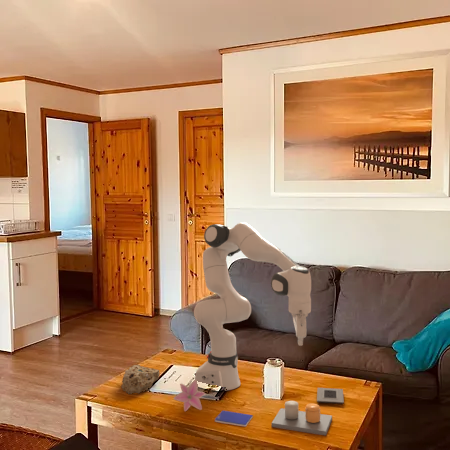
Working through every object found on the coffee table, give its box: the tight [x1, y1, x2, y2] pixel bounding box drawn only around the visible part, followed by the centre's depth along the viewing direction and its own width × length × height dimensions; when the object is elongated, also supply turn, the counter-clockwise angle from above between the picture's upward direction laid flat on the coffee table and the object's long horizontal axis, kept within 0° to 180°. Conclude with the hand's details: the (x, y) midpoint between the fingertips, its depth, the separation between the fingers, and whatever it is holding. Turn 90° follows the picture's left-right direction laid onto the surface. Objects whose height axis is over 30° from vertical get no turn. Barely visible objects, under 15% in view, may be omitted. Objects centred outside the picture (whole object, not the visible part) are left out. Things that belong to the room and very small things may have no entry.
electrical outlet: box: [316, 387, 345, 405], centre depth 217 cm, size 13×10×2 cm
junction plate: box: [271, 400, 333, 436], centre depth 196 cm, size 20×13×7 cm, turn 69°
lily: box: [173, 379, 206, 412], centre depth 213 cm, size 12×12×10 cm
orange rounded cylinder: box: [304, 403, 321, 423], centre depth 194 cm, size 5×5×5 cm
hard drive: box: [214, 410, 254, 427], centre depth 201 cm, size 2×8×12 cm
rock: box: [121, 364, 160, 395], centre depth 235 cm, size 21×14×10 cm
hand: (299, 340), depth 210 cm, fingers open, 8 cm apart
